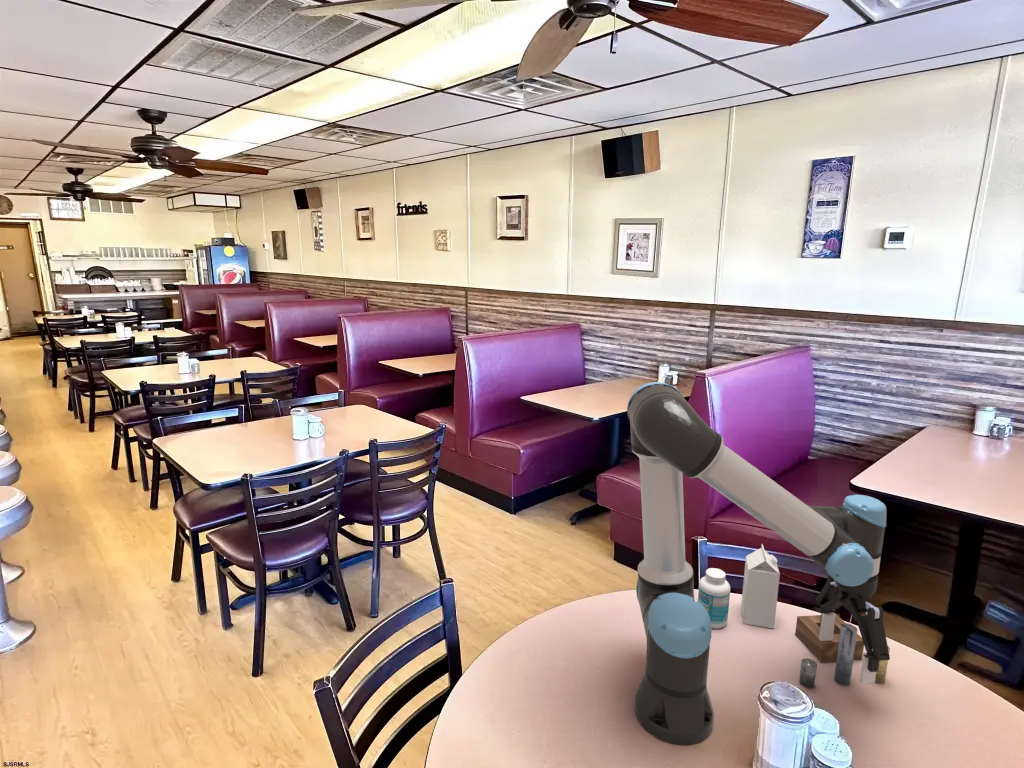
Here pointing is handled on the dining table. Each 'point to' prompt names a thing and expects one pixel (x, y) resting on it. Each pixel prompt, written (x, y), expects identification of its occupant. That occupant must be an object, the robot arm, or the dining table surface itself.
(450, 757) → the dining table surface
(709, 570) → the pill bottle
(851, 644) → the long steel pin
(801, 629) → the walnut hole block
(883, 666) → the medium brass pin
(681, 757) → the dining table surface
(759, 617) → the milk carton
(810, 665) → the short gunmetal pin
